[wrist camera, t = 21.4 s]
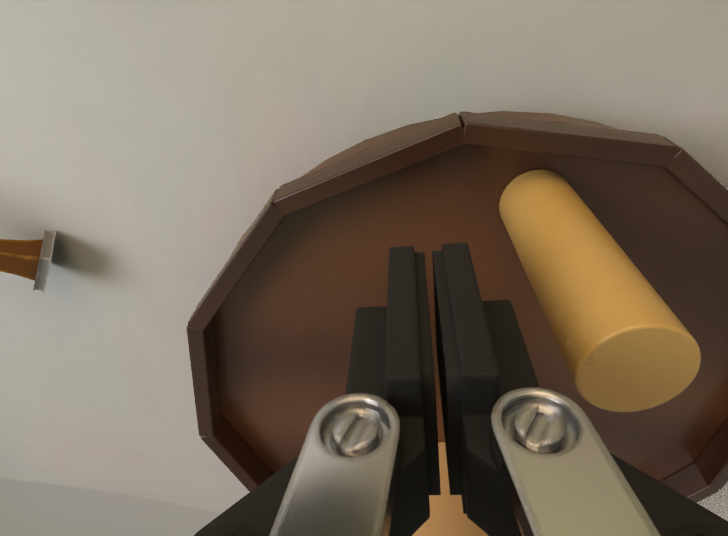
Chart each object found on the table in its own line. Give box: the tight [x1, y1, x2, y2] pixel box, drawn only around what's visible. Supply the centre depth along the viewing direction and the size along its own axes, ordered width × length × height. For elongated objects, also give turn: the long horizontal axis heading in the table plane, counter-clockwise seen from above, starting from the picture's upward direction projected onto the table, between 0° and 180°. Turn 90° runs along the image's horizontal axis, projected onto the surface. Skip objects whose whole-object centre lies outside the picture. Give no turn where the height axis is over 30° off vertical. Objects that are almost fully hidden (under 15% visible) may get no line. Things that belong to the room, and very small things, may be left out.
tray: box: [187, 111, 728, 503], centre depth 17 cm, size 22×22×8 cm
